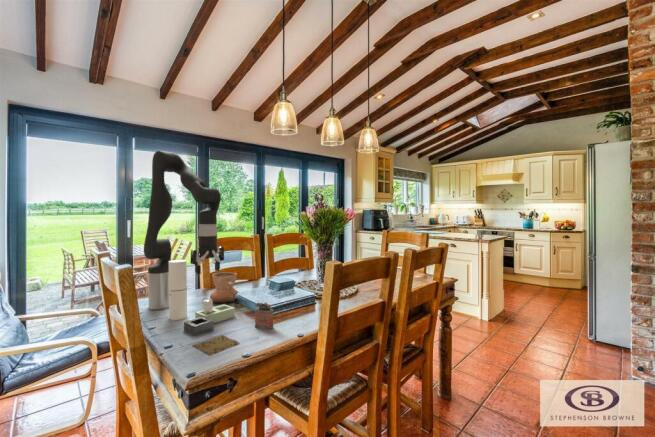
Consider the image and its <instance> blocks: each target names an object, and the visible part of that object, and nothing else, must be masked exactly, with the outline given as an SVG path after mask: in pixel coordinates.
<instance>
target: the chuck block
mask: <svg viewBox="0 0 655 437" xmlns="http://www.w3.org/2000/svg"><path fill="white" fill-rule="evenodd" d="M214 324H215V323H214V321H213V320H210V319H208V318H206V317H199V318H196V319H195V318H192V319H189V320H185V321H183V331H184V332H186V333H188V334H190V335H192V336H194V337H196V336H199V335H202V334H204V333H207V332H210V331H214V328H215V326H214Z"/></svg>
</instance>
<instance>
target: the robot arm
mask: <svg viewBox="0 0 655 437" xmlns="http://www.w3.org/2000/svg"><path fill="white" fill-rule="evenodd" d="M151 162H152V163H151V164H152V165H151V171H152V172H151V192H150V200H149V207H148V208H149V209H148V211H149V212H148V223H147V228H146V232H145V238H144V242H143V243H144V244H143V254H144V255H143V256H144V257H145V259H147V260H153V259H154V260H155V259H158V260H157V261H156V262H155V263H152V265H149V266H148V268H147V276H148V277H147V280H148V282H147V283H148V285H147V286H148V287H147V288H148V291H147V292H148V310H153V311H154V310H155V311H156V310H163V309H167V308H169V261H172V245H171V242H170V240H169V239H168V238H159V239H158V236H159V234H160V230H161V229H162V227H163V225H165V224H166V223H167V221H168V219H169V217H171V214H172V209H173V208H172V207H173V198H172V196H171V193H170V191H169V189H168V188H167V186H166V183H165V182H166V181H165V173H175V174H177V175H178V176H179V178H180V179H179V180H180V183H181V184H182V186H183V187H184V188H185V189H186V190H188V191H189V192H190V194H191V196H192V197H193V199H194V201H195V202H197V203H198V204H200V205H207V206H206V208H205V209H202V210H200V211H199V213H198V231H197V232H198V237H197V238H198V249H191V250H190V259H189V260H190V261H189V262H190V263H189V264H191V265H194V268H195V273H196V275H201V273H202V272H201V266H202V265H201V264H202V262H203V261H205V260H209V259H213V260H214V261H215V262H214V271H216V272H220V269H221V262H222V261H225V250H224V249H225V247H224V246H218V224H217V223H218V222H217V215H218V211H219V207H220V203H221V200H222V199H221V198H222V196H221V193H220V190H218V189H217V188H214V187H206V184H205V182H204V181H203V179H201V178H200V177H198V175H196V174H195V173H194V172H193V171H192V170H191V169H190V168H189V167H188V165H187V164H186V163H185V162H184V160H183V159H182V157H181V156H180V155H179V154H178V153H176V152H172V151H171V152H170V151H165V150H156V151H155V152H154V153H153V156H152V161H151Z"/></svg>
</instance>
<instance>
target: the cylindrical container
mask: <svg viewBox="0 0 655 437" xmlns="http://www.w3.org/2000/svg"><path fill="white" fill-rule="evenodd" d="M187 266H188V265H187V260H186V259H173V260H172V259H171V261H169V307H168V316H169V317H168V318H169V320H171V321H177V320H183V319H185V318H187V317H188V296H187V295H188V285H187V284H188V282H187V281H188V279H187V278H188V277H187V276H188V274H187V273H188V272H187V270H188V268H187Z"/></svg>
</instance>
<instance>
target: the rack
mask: <svg viewBox="0 0 655 437" xmlns="http://www.w3.org/2000/svg"><path fill="white" fill-rule="evenodd" d="M235 309H236V308H235V307H233V306H230V305H227V304H226V303H223V304H219V305H216V306H213V313H210V314H207V315H205V314H204V309H202V310H198V311H196V312H195V314H194V315H195V318H194V319H196V318H199V317H206V318H208V319H210V320H213V321H214V324H215V323H219V322H223V321H225V320H229V319H232V318H234V317H236V316H235V313H236V312H235V311H236V310H235Z"/></svg>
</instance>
